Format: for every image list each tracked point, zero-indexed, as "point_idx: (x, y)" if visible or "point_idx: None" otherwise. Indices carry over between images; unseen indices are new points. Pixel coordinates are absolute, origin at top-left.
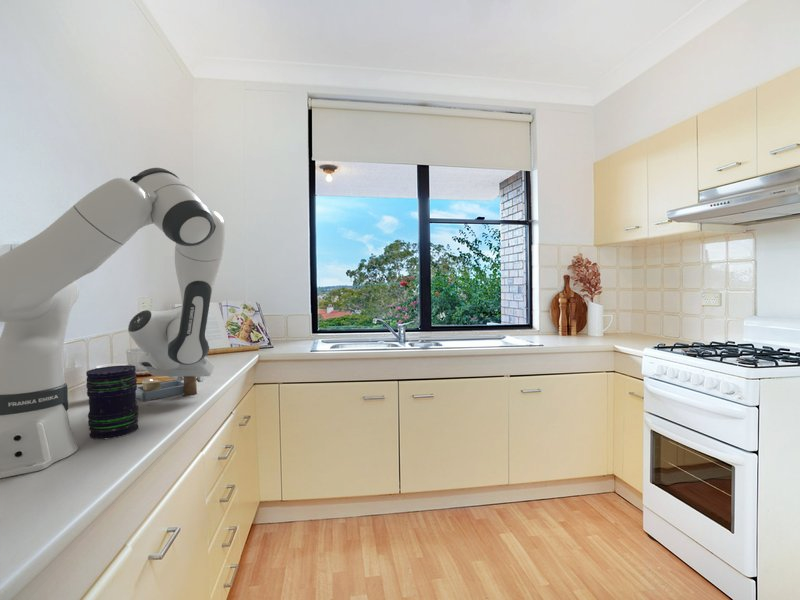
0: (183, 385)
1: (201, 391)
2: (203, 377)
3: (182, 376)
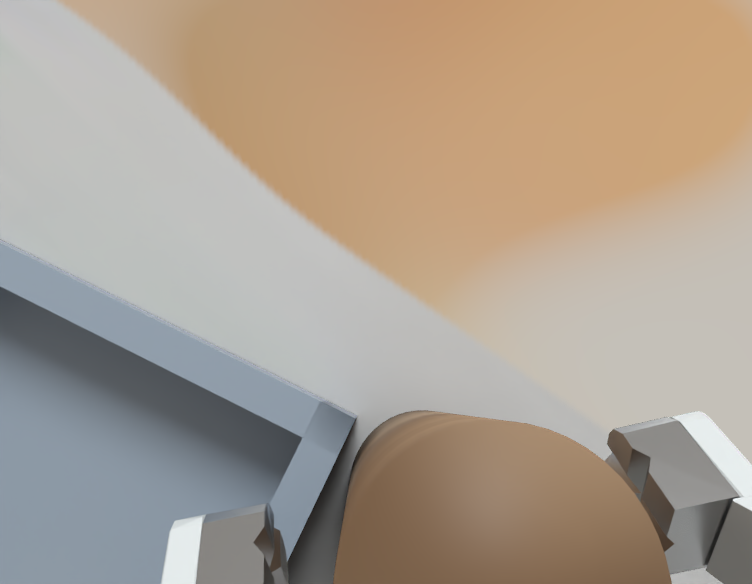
0: (291, 499)
1: (444, 328)
2: (717, 442)
3: (258, 543)
